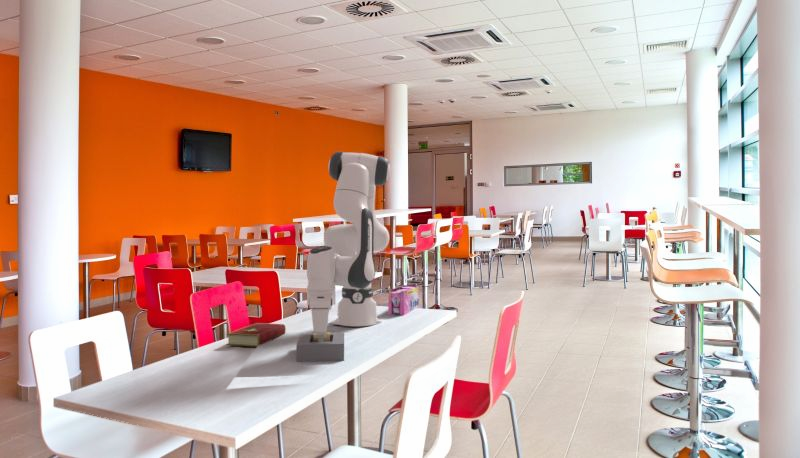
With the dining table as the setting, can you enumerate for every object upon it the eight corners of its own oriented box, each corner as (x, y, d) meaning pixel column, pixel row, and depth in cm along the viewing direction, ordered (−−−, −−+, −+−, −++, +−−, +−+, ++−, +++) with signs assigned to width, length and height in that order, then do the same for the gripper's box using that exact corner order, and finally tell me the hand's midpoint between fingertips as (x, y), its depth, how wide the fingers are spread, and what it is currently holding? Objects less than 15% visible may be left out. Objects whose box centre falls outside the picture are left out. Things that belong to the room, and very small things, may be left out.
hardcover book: (285, 334, 217) (285, 323, 217) (258, 346, 196) (258, 334, 196) (256, 333, 220) (256, 322, 220) (226, 345, 199) (226, 332, 199)
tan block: (314, 351, 185) (314, 332, 185) (330, 350, 185) (330, 331, 185) (313, 353, 181) (313, 334, 181) (329, 353, 181) (329, 334, 181)
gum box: (403, 322, 240) (403, 291, 240) (386, 321, 243) (386, 290, 243) (419, 313, 261) (419, 285, 261) (403, 312, 264) (403, 284, 264)
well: (301, 348, 191) (301, 333, 191) (344, 347, 192) (344, 332, 192) (296, 361, 173) (296, 344, 173) (344, 360, 174) (343, 343, 174)
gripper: (313, 294, 192) (313, 336, 193) (309, 303, 172) (309, 350, 172) (332, 294, 193) (332, 335, 193) (330, 303, 173) (330, 349, 173)
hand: (321, 342), depth 183 cm, fingers open, 5 cm apart
